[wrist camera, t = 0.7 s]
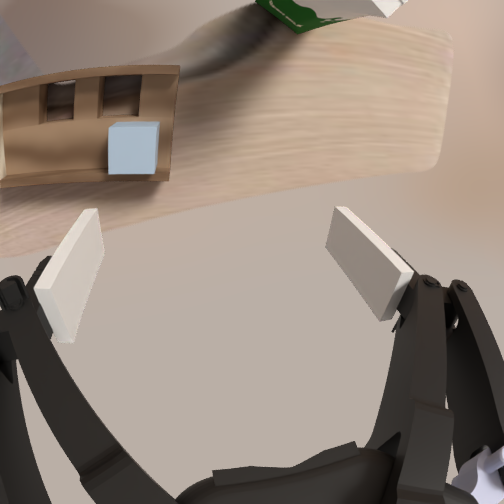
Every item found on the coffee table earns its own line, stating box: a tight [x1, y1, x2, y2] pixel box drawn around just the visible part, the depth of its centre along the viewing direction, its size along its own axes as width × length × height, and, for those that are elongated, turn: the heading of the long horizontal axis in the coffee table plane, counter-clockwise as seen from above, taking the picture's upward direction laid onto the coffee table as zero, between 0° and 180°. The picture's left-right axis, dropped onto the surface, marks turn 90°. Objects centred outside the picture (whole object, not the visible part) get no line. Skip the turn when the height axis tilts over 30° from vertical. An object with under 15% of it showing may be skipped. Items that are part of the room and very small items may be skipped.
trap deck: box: [0, 65, 180, 188], centre depth 25 cm, size 13×24×5 cm, turn 82°
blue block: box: [108, 122, 160, 174], centre depth 27 cm, size 5×5×4 cm
